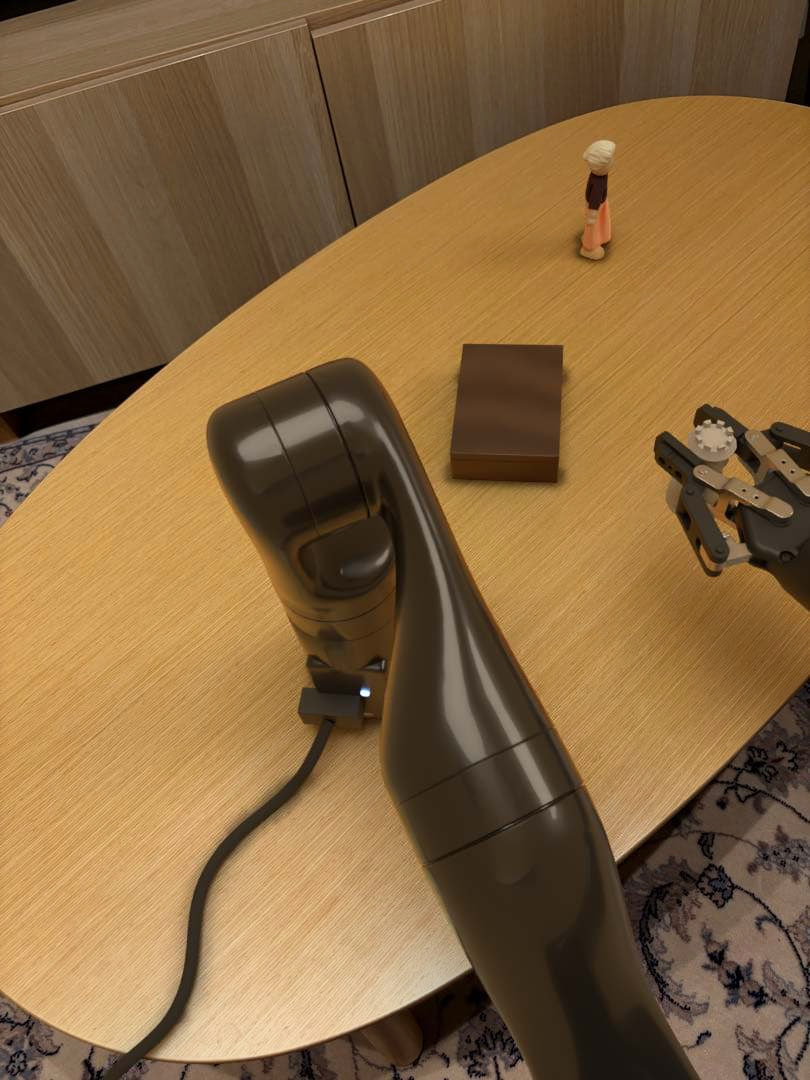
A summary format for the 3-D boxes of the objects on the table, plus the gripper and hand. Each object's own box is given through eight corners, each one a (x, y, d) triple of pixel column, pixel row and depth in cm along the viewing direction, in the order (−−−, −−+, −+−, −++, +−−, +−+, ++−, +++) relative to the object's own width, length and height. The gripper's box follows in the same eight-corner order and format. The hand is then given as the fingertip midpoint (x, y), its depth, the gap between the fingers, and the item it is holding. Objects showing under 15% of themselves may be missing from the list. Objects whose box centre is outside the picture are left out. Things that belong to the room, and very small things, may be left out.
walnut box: (557, 482, 82) (559, 456, 78) (452, 478, 83) (449, 453, 80) (561, 372, 89) (563, 344, 86) (464, 370, 91) (463, 343, 87)
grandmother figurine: (614, 264, 97) (626, 162, 86) (579, 267, 97) (587, 166, 87) (606, 220, 101) (617, 117, 90) (573, 223, 101) (580, 121, 91)
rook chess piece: (737, 497, 65) (762, 429, 58) (703, 536, 64) (725, 470, 57) (685, 468, 67) (704, 398, 60) (652, 505, 66) (667, 438, 59)
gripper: (784, 681, 55) (599, 508, 63) (934, 562, 58) (738, 412, 67) (819, 627, 48) (608, 443, 57) (984, 497, 52) (761, 341, 60)
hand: (679, 427), depth 62 cm, fingers closed on rook chess piece, 3 cm apart
